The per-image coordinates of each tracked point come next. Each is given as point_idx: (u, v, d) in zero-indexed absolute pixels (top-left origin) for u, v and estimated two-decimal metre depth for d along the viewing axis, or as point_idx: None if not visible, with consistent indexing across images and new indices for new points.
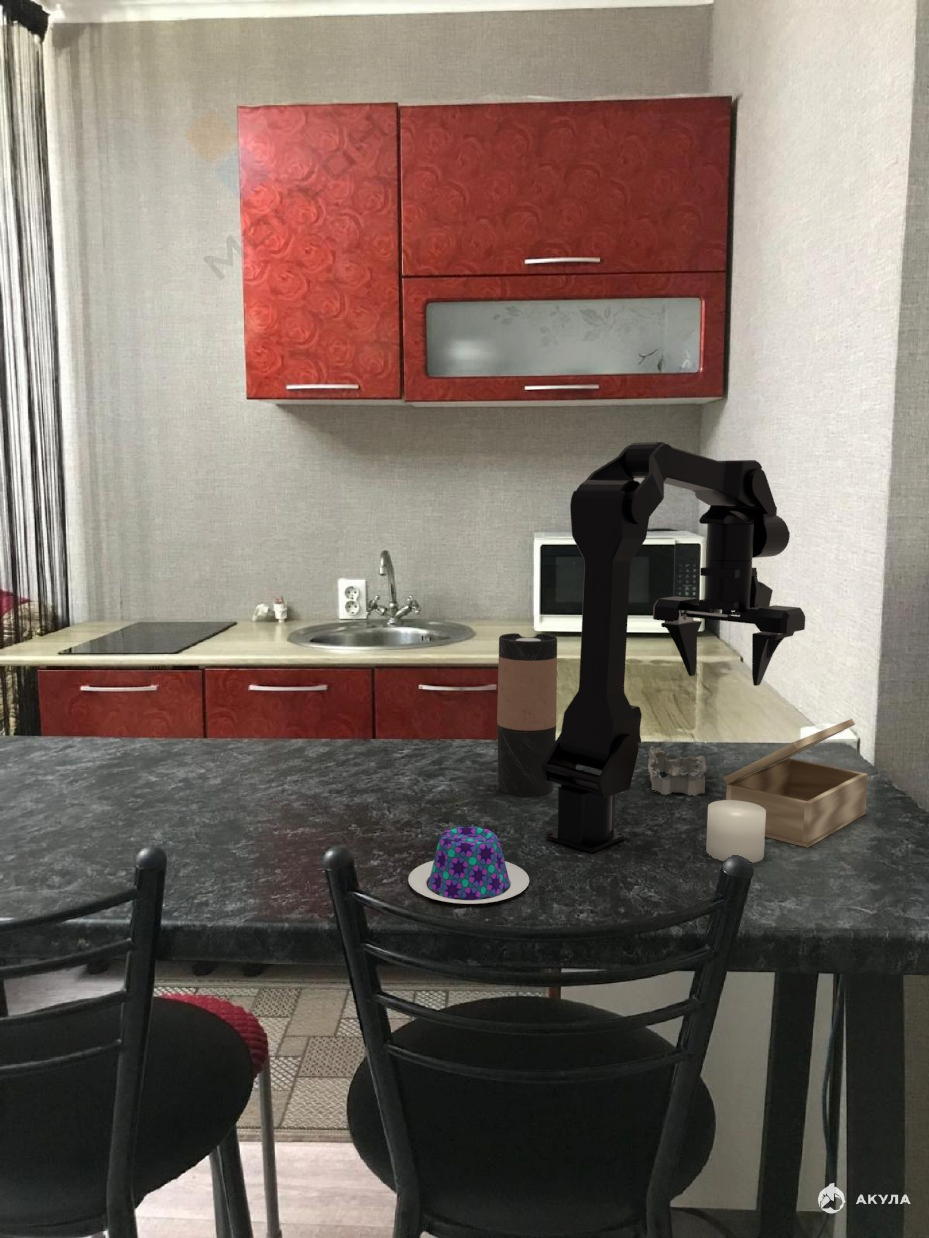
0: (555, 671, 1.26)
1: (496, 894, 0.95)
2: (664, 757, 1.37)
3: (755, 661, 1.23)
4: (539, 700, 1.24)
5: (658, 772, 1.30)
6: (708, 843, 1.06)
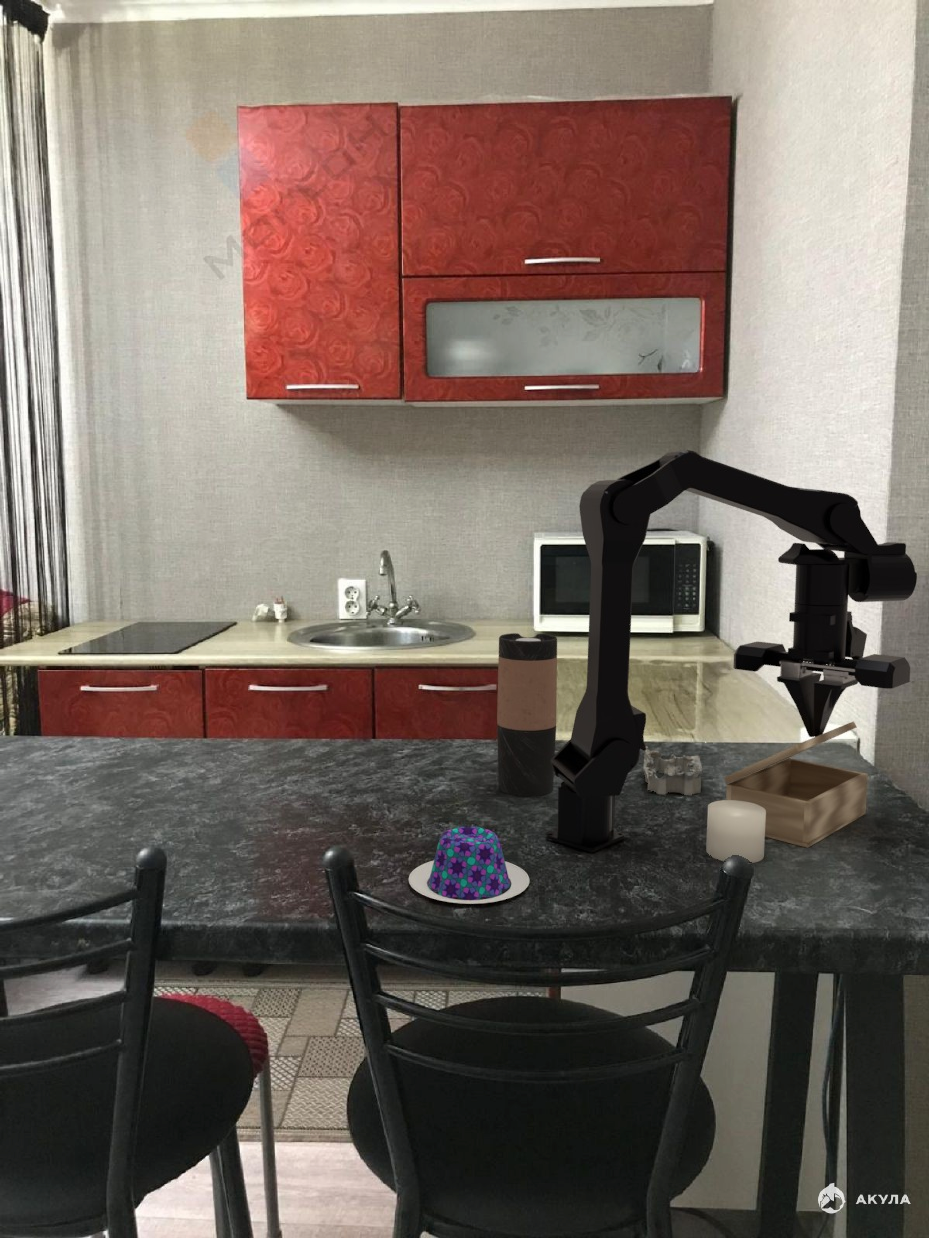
0: (555, 671, 1.26)
1: (495, 895, 0.95)
2: (659, 757, 1.37)
3: (817, 712, 1.13)
4: (539, 700, 1.24)
5: (654, 772, 1.30)
6: (708, 843, 1.06)
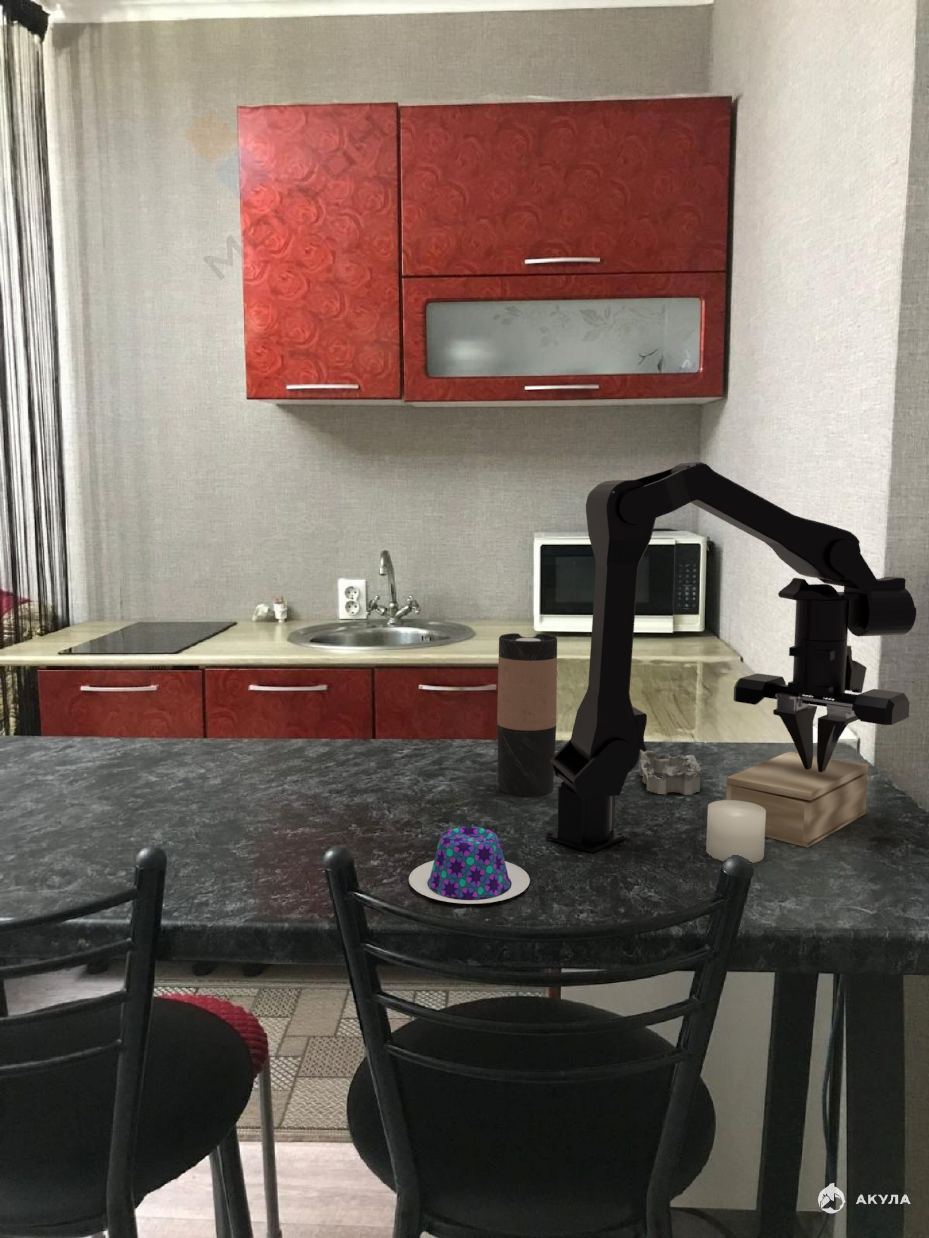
0: (555, 671, 1.26)
1: (494, 895, 0.95)
2: (653, 757, 1.37)
3: (820, 747, 1.13)
4: (539, 700, 1.24)
5: (652, 772, 1.30)
6: (708, 843, 1.06)
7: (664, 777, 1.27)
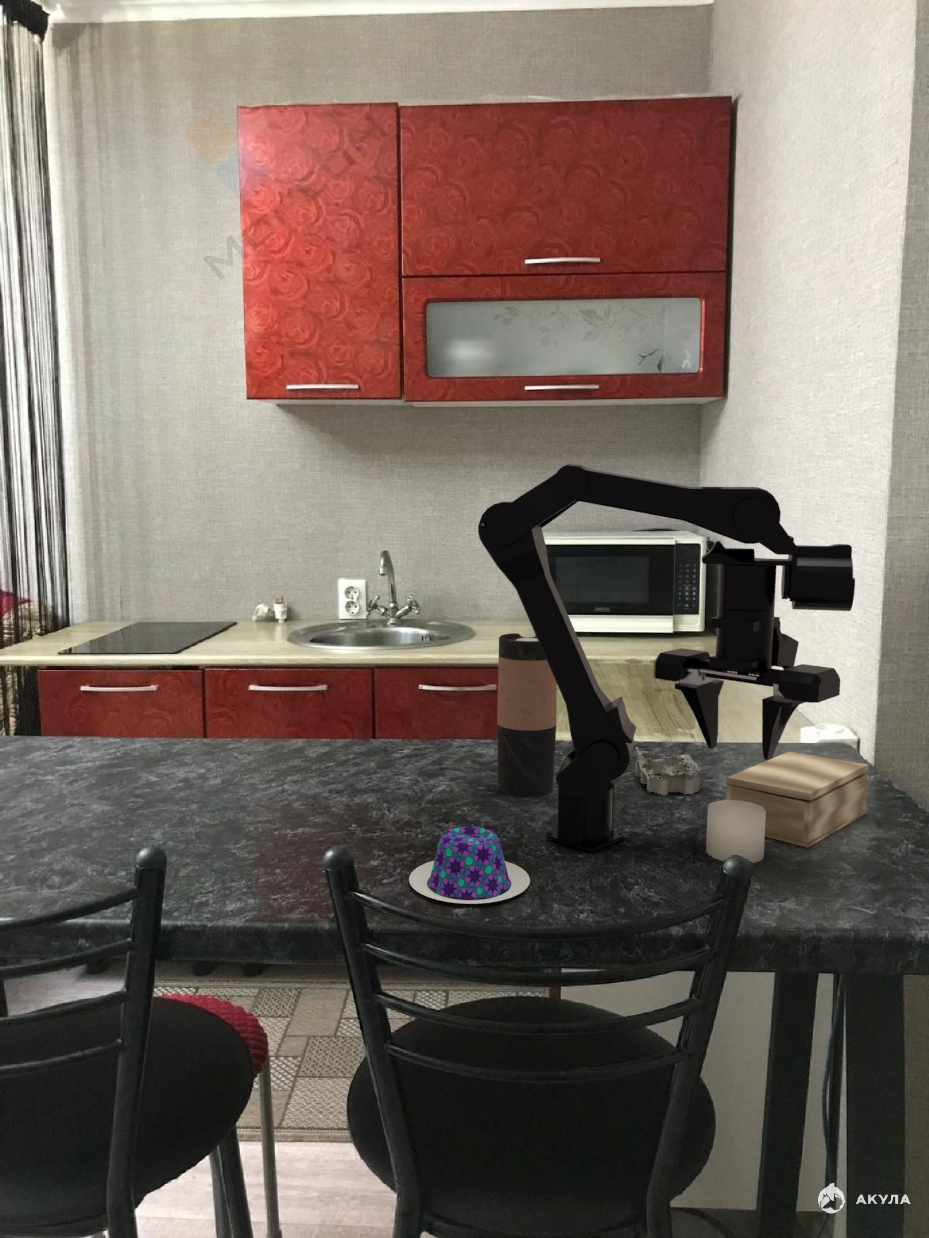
0: None
1: (493, 895, 0.95)
2: (648, 757, 1.37)
3: (766, 732, 1.01)
4: (539, 700, 1.24)
5: (652, 773, 1.29)
6: (708, 843, 1.06)
7: (665, 777, 1.27)
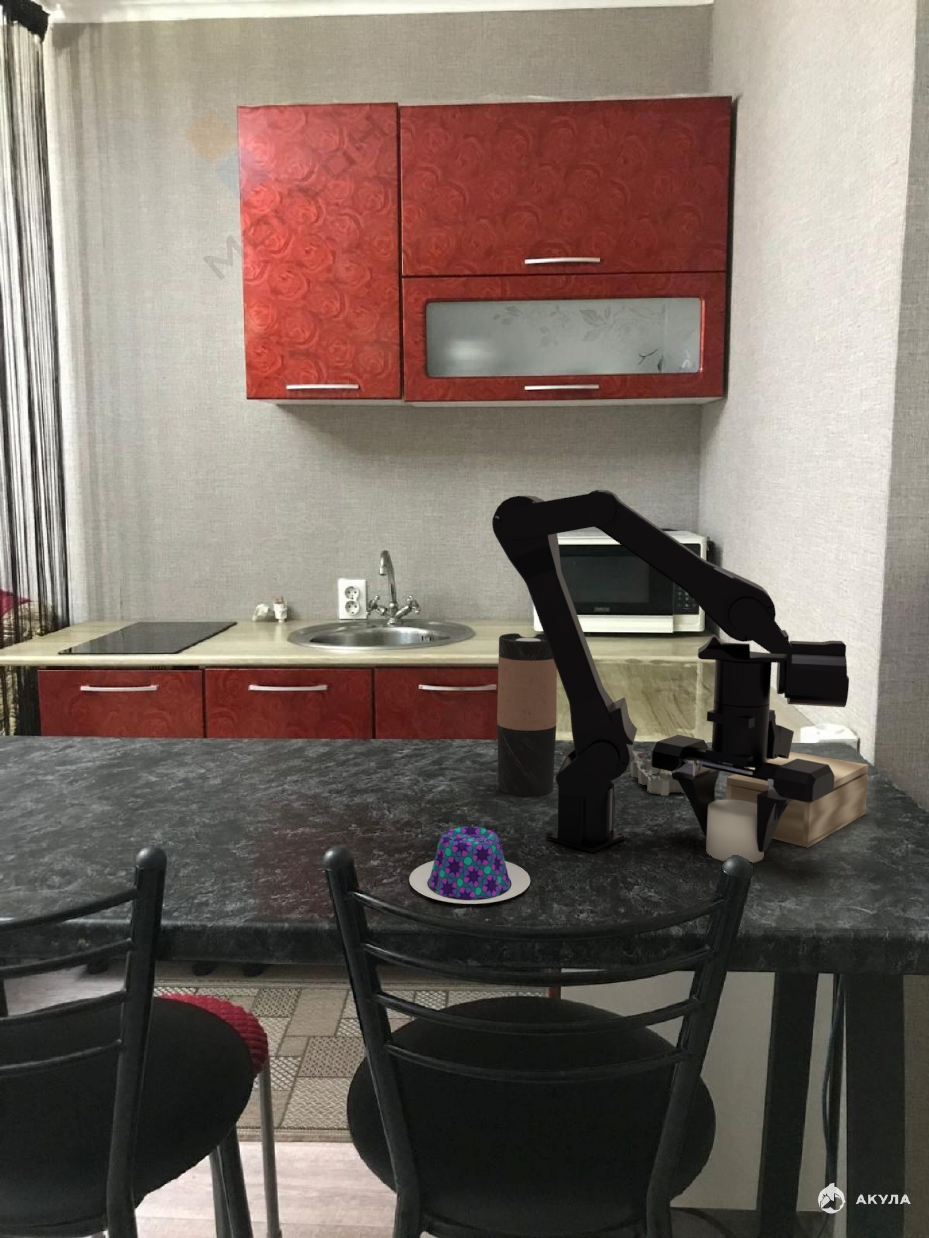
0: (555, 671, 1.26)
1: (491, 896, 0.95)
2: (642, 757, 1.37)
3: (760, 826, 1.02)
4: (539, 700, 1.24)
5: (652, 774, 1.29)
6: (708, 842, 1.06)
7: (667, 778, 1.27)
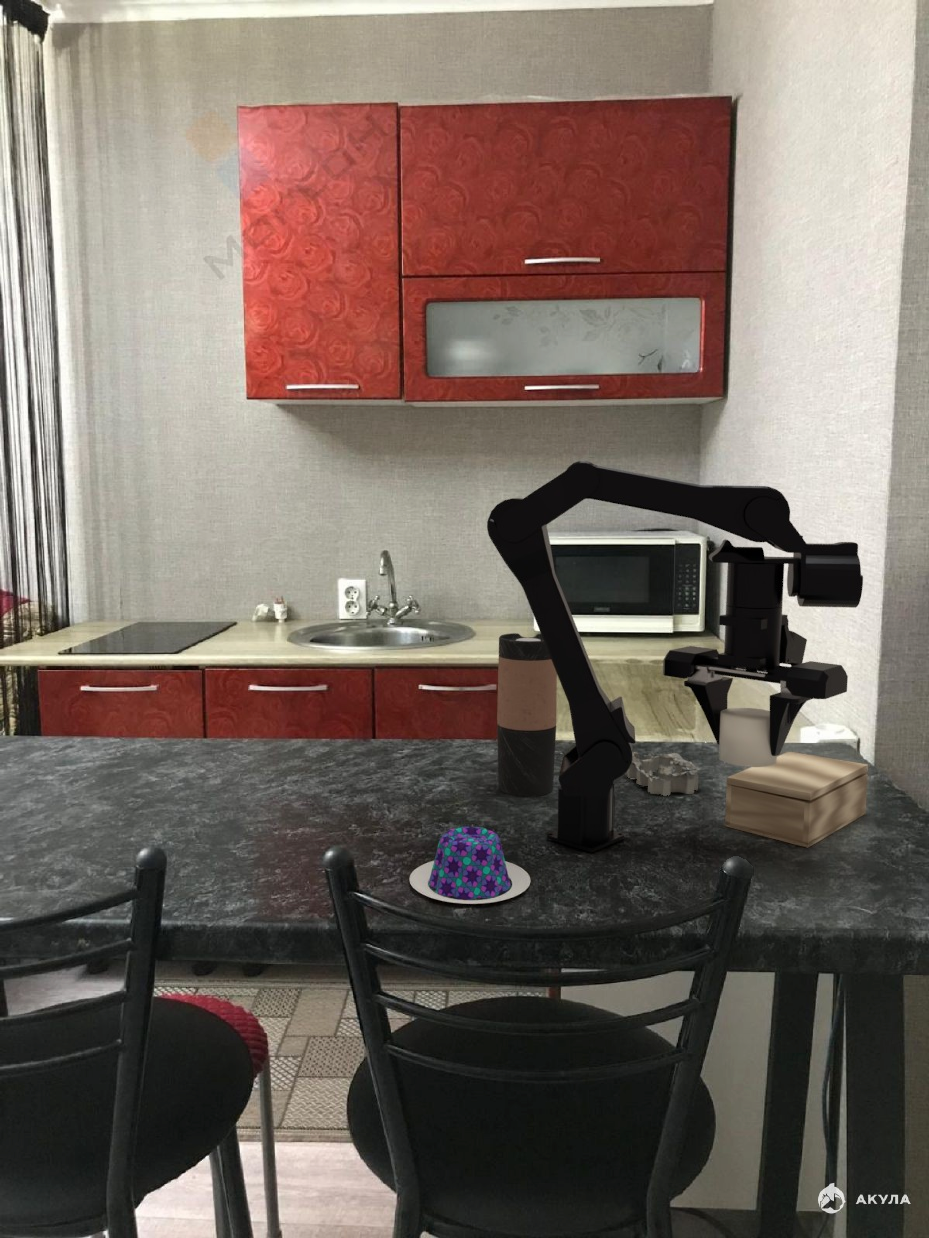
0: (555, 671, 1.26)
1: (490, 896, 0.95)
2: (637, 758, 1.36)
3: (773, 728, 1.02)
4: (539, 700, 1.24)
5: (652, 774, 1.29)
6: (721, 748, 1.06)
7: (669, 778, 1.27)
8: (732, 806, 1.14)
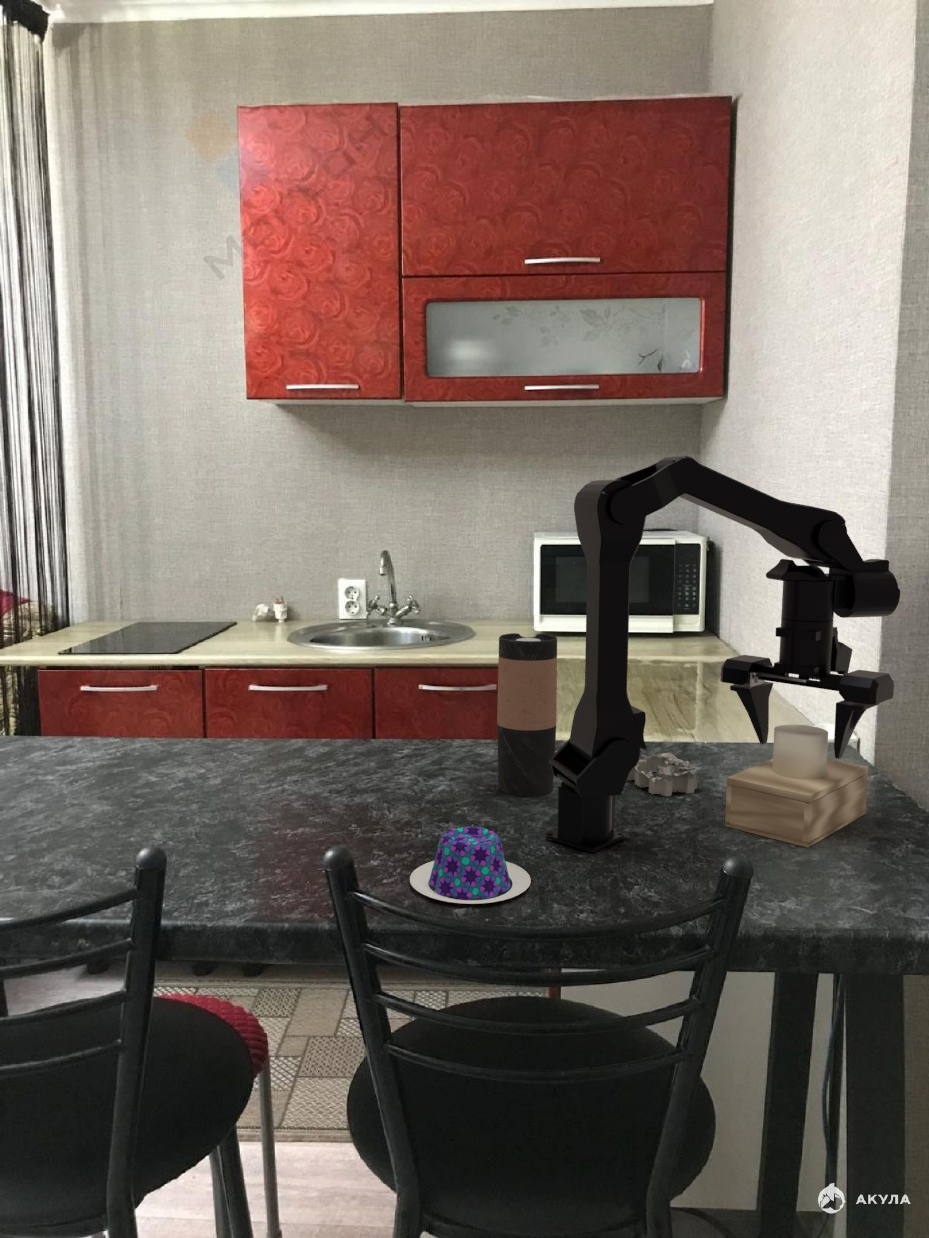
0: (555, 671, 1.26)
1: (489, 897, 0.95)
2: None
3: (838, 733, 1.11)
4: (539, 700, 1.24)
5: (652, 775, 1.29)
6: (775, 762, 1.16)
7: (671, 778, 1.26)
8: (732, 806, 1.14)
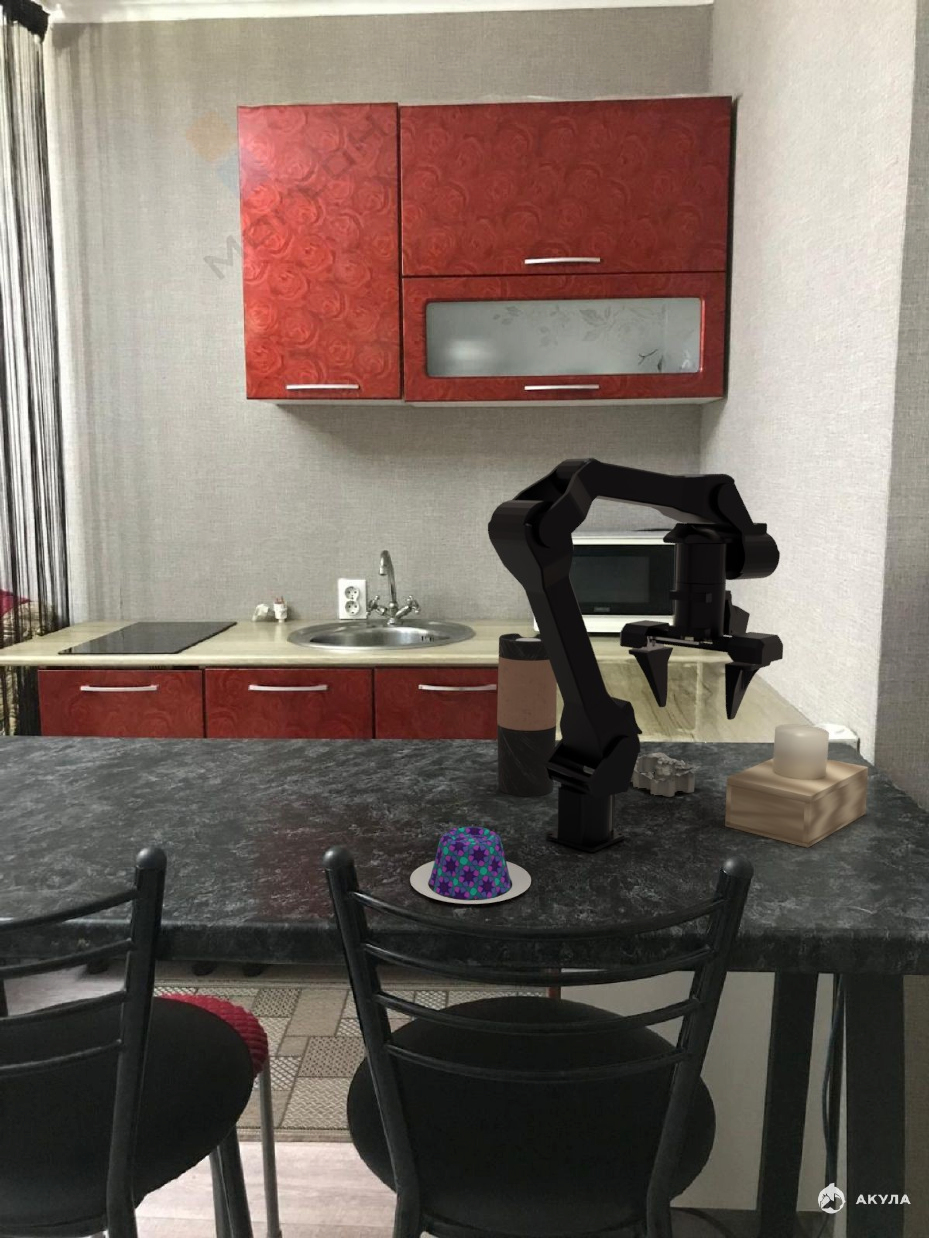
0: None
1: (487, 897, 0.94)
2: None
3: (728, 694, 1.13)
4: (539, 700, 1.24)
5: (653, 776, 1.28)
6: (775, 762, 1.16)
7: (673, 778, 1.26)
8: (732, 806, 1.14)
